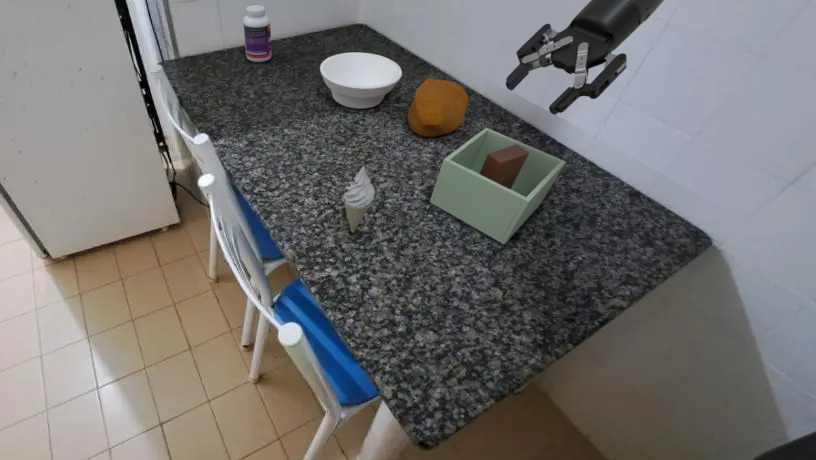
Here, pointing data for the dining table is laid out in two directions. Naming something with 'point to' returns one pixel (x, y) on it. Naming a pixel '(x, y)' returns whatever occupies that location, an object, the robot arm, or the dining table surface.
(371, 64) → the bowl
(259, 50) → the pill bottle
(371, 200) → the ice cream cone
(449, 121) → the bread
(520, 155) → the chocolate bar
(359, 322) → the dining table surface
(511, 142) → the trash bin
